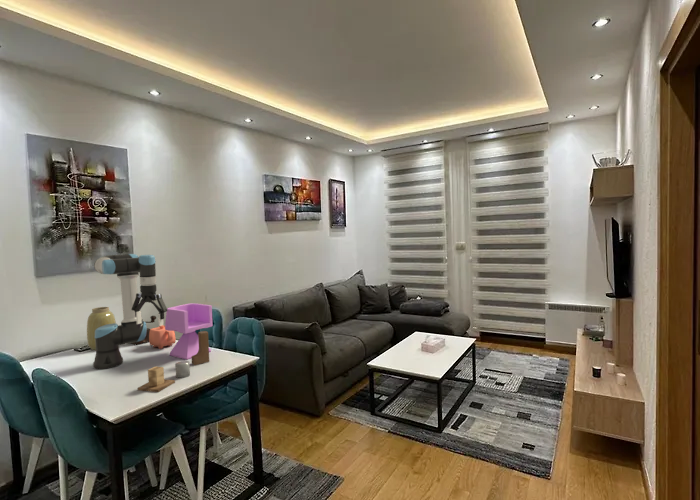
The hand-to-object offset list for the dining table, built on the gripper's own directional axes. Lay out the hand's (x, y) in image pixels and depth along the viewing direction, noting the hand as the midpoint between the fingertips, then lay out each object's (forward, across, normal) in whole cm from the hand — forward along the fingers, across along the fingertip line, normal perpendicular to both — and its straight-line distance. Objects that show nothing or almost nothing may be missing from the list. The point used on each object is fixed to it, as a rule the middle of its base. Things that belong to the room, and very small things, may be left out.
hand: (150, 324), depth 207 cm
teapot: (+31, -36, +51) cm, 70 cm away
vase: (+32, -75, +41) cm, 92 cm away
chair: (+30, -6, +40) cm, 51 cm away
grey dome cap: (+29, +14, +7) cm, 33 cm away
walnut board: (+29, +10, -8) cm, 32 cm away
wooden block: (+30, +11, +26) cm, 41 cm away
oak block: (+28, +10, -8) cm, 31 cm away
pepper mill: (+32, -58, +58) cm, 88 cm away
